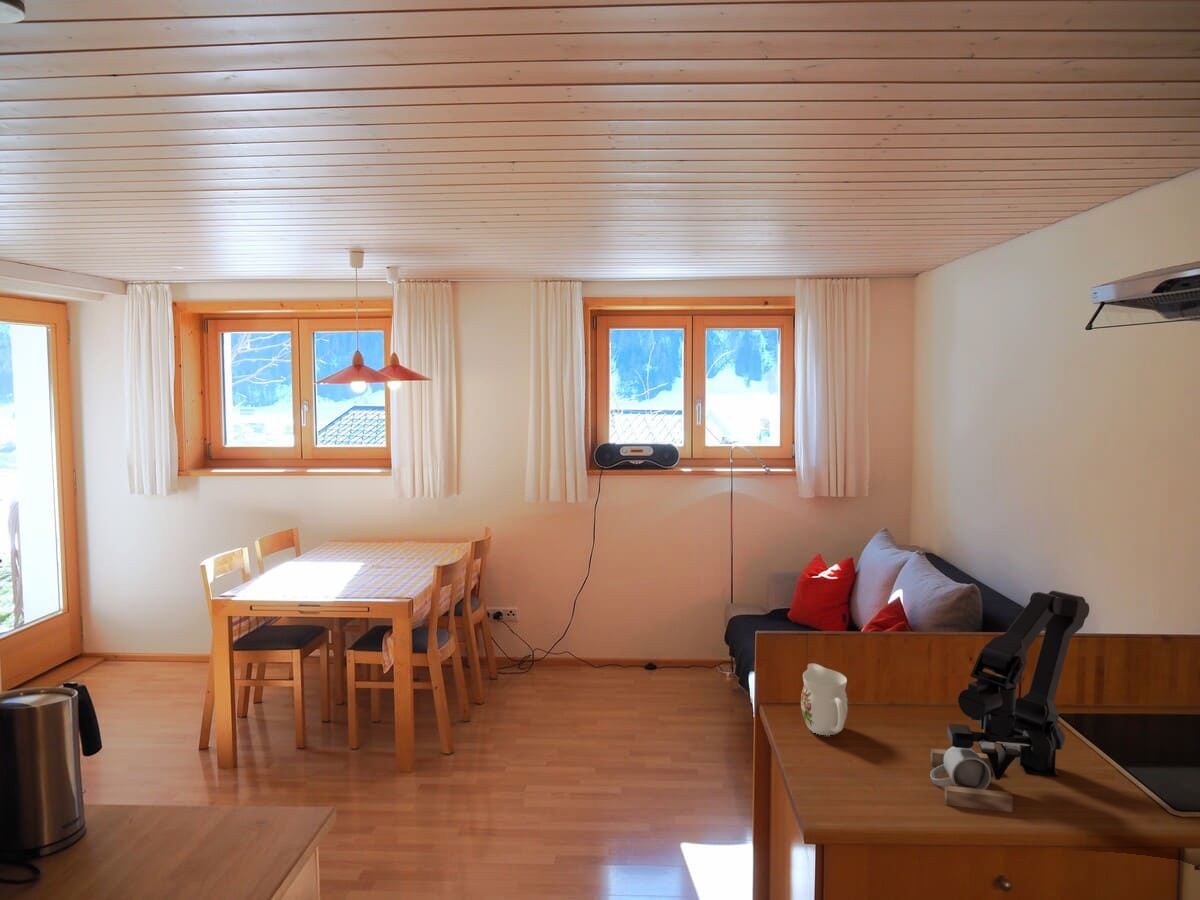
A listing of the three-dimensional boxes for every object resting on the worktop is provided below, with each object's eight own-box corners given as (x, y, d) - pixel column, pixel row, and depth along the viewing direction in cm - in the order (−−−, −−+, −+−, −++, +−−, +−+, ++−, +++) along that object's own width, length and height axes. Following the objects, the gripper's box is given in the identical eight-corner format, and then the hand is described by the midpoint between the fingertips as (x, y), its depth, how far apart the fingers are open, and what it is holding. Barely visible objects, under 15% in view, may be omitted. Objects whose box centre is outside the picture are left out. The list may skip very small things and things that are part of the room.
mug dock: (989, 767, 169) (989, 754, 169) (1012, 812, 152) (1012, 797, 152) (930, 761, 172) (930, 748, 172) (946, 804, 155) (946, 790, 154)
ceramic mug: (976, 775, 166) (976, 740, 165) (991, 795, 158) (991, 759, 157) (924, 773, 167) (925, 739, 167) (937, 793, 159) (937, 758, 159)
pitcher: (819, 751, 177) (820, 693, 176) (789, 717, 195) (790, 664, 194) (864, 747, 179) (865, 690, 178) (831, 714, 197) (832, 661, 195)
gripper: (1037, 694, 165) (1034, 764, 166) (943, 687, 169) (940, 755, 170) (1055, 716, 154) (1051, 791, 155) (954, 708, 158) (951, 781, 160)
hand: (996, 778), depth 160 cm, fingers closed
